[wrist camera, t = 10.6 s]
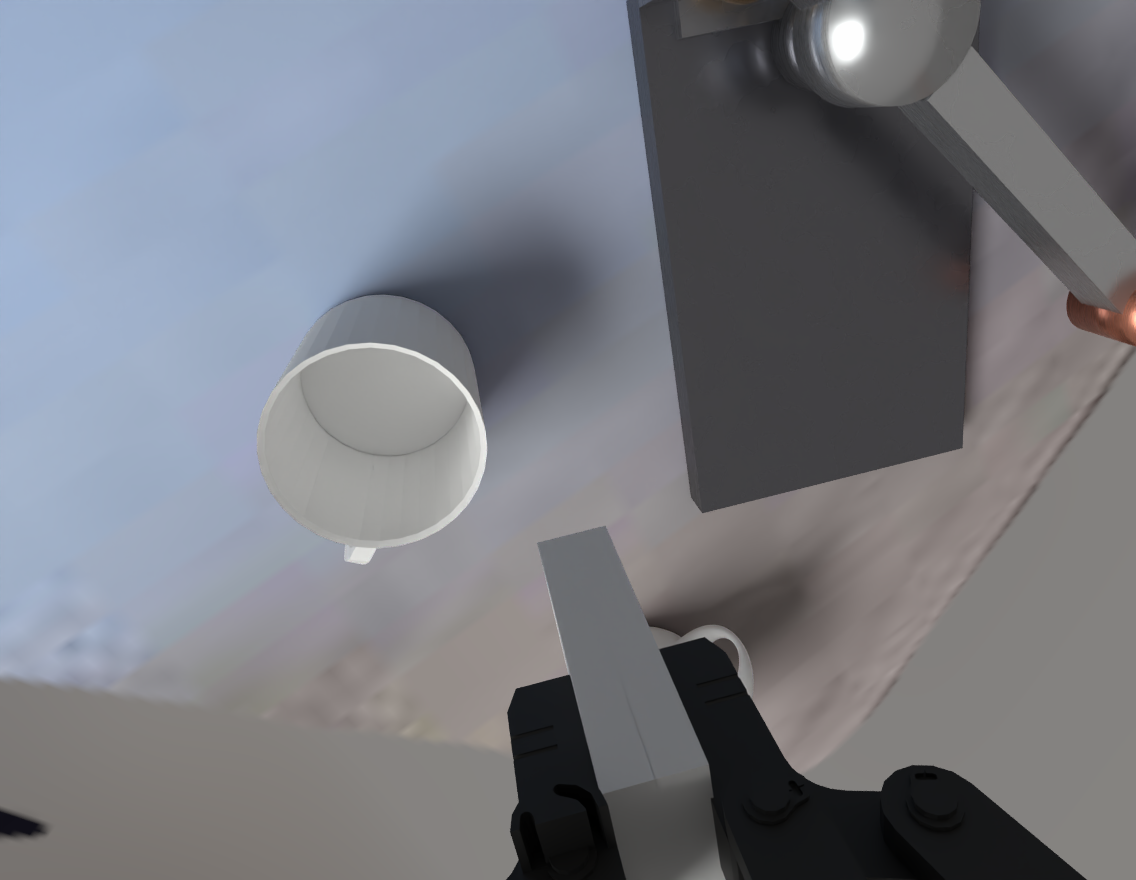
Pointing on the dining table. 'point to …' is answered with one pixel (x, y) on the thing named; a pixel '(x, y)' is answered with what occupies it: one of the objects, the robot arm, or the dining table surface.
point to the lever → (975, 137)
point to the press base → (796, 259)
